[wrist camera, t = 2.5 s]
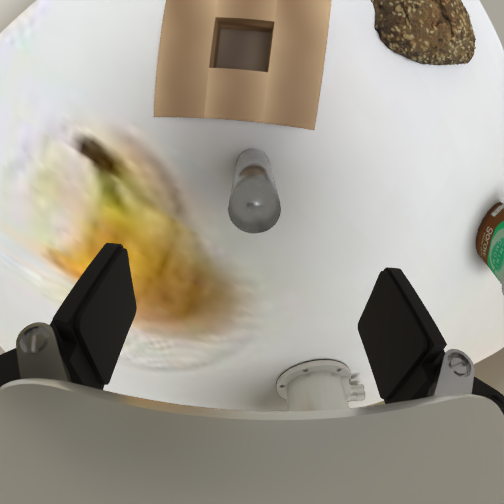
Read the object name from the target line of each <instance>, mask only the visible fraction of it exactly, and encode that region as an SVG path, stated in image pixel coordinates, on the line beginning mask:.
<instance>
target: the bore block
mask: <svg viewBox="0 0 504 504" xmlns="http://www.w3.org/2000/svg"><path fill="white" fill-rule="evenodd" d="M330 9H331V0H166V4H165V10H164V16H163V23H162V30H161V37H160V45H159V53H158V63H157V73H156V85H155V100H154V117H192V118H214V119H228V120H241V121H251V122H260V123H269V124H277V125H284V126H291V127H297V128H304V129H310V130H314V129H315V122H316V116H317V110H318V103H319V96H320V90H321V83H322V75H323V68H324V60H325V53H326V45H327V36H328V28H329V19H330Z"/></svg>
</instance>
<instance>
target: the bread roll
mask: <svg viewBox="0 0 504 504" xmlns="http://www.w3.org/2000/svg"><path fill="white" fill-rule="evenodd" d="M371 2H373V5H374V8H375V12H376V20H375V30H377V31H378V33H379V34H380V38H381V40H382V41H383V42H384V43H385V44H386V45H387V46H388V47H389V48H390V49H391V50H393V51H395V52H396V53H398V54H400V55H403V56H405V57H407V58H409V59H412V60H415V61H416V62H419V63H422V64H429V65H448V64H449V65H452V64H454V65H455V64H459V63H460V64H462V63H463V64H465V63H468V62H469V61H470V60H471V58H472V57H473V55H474V49H475V48H476V47H475V40H476V39H475V36H474V32H473V29H472V24H471V22H470V18H469V14H468V12H467V11H466V8H465V7H464V6H463V3H462V2H461V0H371Z"/></svg>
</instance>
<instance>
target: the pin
mask: <svg viewBox="0 0 504 504" xmlns="http://www.w3.org/2000/svg"><path fill="white" fill-rule="evenodd" d="M280 211H281V207H280V202H279V198H278V194H277V190H276V186H275V182H274V178H273V175H272V171H271V167H270V163H269V160H268V157H267V156H266V154H265V153H263V152H262V151H260V150H257V149H249V150H246V151H244V152H243V153H242V154H241V155H240V156H239V158H238V160H237V165H236V170H235V175H234V180H233V186H232V191H231V196H230V201H229V207H228V212H229V216H230V219H231V221H232V222H233V224H234V225H235V226H236V227H237V228H239V229H240V230H242V231H245V232H248V233H261V232H264V231H266V230H268V229H270V228H271V227H273V226H274V225H275V223H276V222H277V221H278V219H279V216H280Z"/></svg>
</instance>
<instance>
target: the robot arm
mask: <svg viewBox="0 0 504 504" xmlns="http://www.w3.org/2000/svg"><path fill="white" fill-rule="evenodd" d="M135 314H136V300H135V295H134V290H133V284H132V278H131V272H130V266H129V259H128V252H127V249H125V248H123V246H122V245H121V244H114V243H106V244H105V245H104V246H103V248H102V249H101V250H100V252H99V253H98V254H97V255H96V257H95V258H94V259H93V261H92V262H91V263H90V265H89V266H88V267H87V269H86V270H85V272H84V273H83V274H82V276H81V277H80V279H79V280H78V281H77V283H76V284H75V286H74V287H73V289H72V290H71V291H70V293H69V294H68V296H67V297H66V299H65V300H64V302H63V303H62V305H61V306H60V308H59V309H58V311H57V313H56V314H55V316H54V317H53V320H52V322H51V324H50V325H48V324H46V323H41V322H37V323H33V324H30V325H28V326H26V327H25V328H24V329H23V330H22V331H21V332H20V334H19V335H18V337H17V340H16V348H15V349H13V350H10V351H8V352H6V353H4V354H1V355H0V504H504V396H503V395H502V394H501V393H500V392H498V391H497V390H495V389H494V388H492V387H490V386H489V385H487V384H485V383H484V382H482V381H481V380H479V379H477V378H476V377H474V365H473V362H472V361H471V359H470V358H469V357H468V356H467V355H466V354H465V353H464V352H462V351H460V350H457V349H451V350H448V351H447V352H446V353H445V352H444V350H443V349H444V348H445V346H446V345H447V343H446V342H445V340H444V338H443V336H442V334H441V333H440V331H439V329H438V327H437V326H436V324H435V322H434V321H433V319H432V317H431V316H430V314H429V312H428V311H427V309H426V307H425V306H424V304H423V303H422V301H421V299H420V298H419V296H418V295H417V293H416V292H415V290H414V288H413V287H412V285H411V284H410V282H409V281H408V279H407V278H406V276H405V275H404V273H403V272H402V270H401V269H398V268H385V269H384V271H381V272H380V274H379V276H378V279H377V281H376V283H375V286H374V288H373V291H372V293H371V295H370V298H369V300H368V302H367V304H366V307H365V309H364V311H363V313H362V315H361V318H360V320H359V322H358V331H359V334H360V337H361V340H362V343H363V345H364V348H365V351H366V354H367V357H368V360H369V363H370V366H371V369H372V372H373V375H374V378H375V381H376V385H377V388H378V391H379V394H380V397H381V398H382V399H384V401H385V404H383V405H375V406H367V407H358V408H349V406H348V402H349V401H360V400H364V399H365V391H364V385H363V384H361V385H351V384H349V383H350V380H351V374H350V370H349V369H348V367H347V366H346V365H344V364H343V363H341V362H337V361H332V360H317V361H311V362H306V363H303V364H300V365H297V366H295V367H293V368H291V369H289V370H288V371H286V372H285V373H284V374H282V375H281V377H280V378H279V379H278V381H277V392H278V394H279V395H280V396H281V397H282V398H283V399H285V400H287V403H288V411H244V410H228V409H215V408H205V407H195V406H187V405H179V404H172V403H166V402H160V401H154V400H148V399H143V398H138V397H132V396H127V395H122V394H118V393H113V392H109V391H104V390H103V388H104V385H105V384H106V385H107V384H108V383H109V382H110V379H111V376H112V374H113V371H114V368H115V365H116V363H117V360H118V357H119V355H120V352H121V349H122V347H123V344H124V341H125V339H126V336H127V334H128V331H129V329H130V326H131V324H132V321H133V319H134V317H135Z"/></svg>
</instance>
